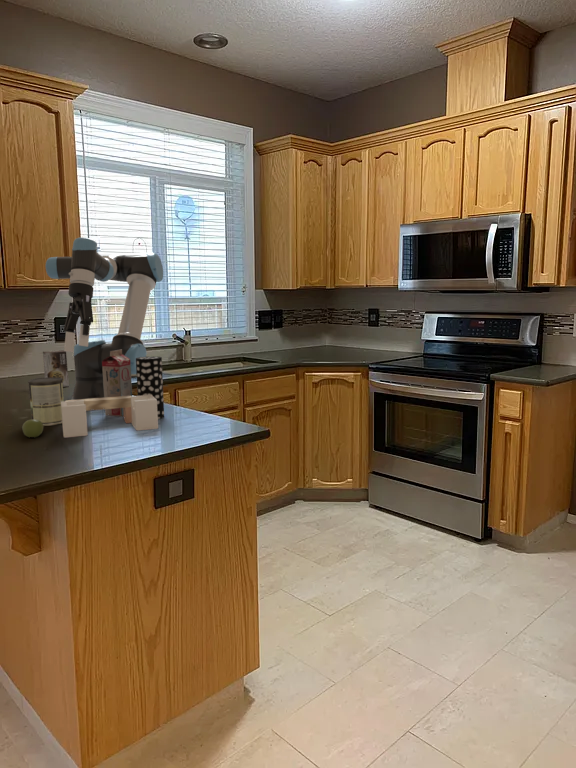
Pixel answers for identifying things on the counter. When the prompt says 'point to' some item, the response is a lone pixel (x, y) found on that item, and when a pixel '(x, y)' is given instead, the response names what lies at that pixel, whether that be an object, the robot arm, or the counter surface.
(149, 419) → the end caps
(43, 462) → the counter surface
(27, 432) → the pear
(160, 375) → the spotted tube
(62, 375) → the coffee box
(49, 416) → the coffee can
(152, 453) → the counter surface
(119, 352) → the juice carton
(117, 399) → the birch slat
